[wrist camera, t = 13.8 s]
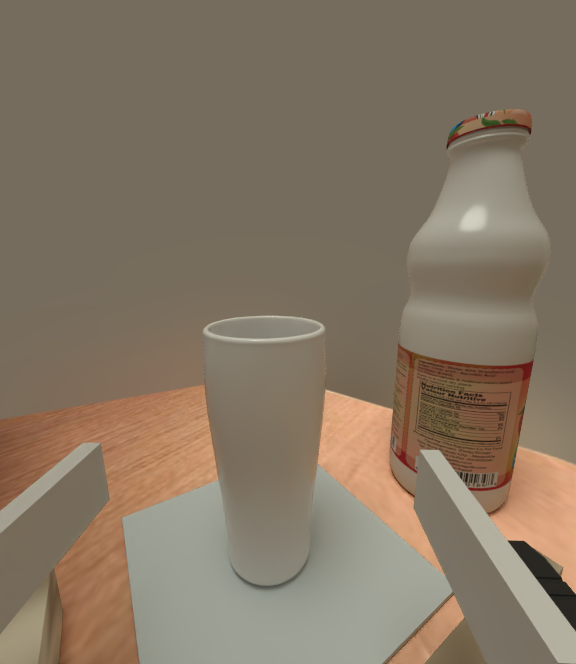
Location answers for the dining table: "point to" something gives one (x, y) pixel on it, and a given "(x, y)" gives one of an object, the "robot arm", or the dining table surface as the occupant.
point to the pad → (275, 587)
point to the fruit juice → (471, 313)
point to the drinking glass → (266, 437)
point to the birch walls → (47, 614)
